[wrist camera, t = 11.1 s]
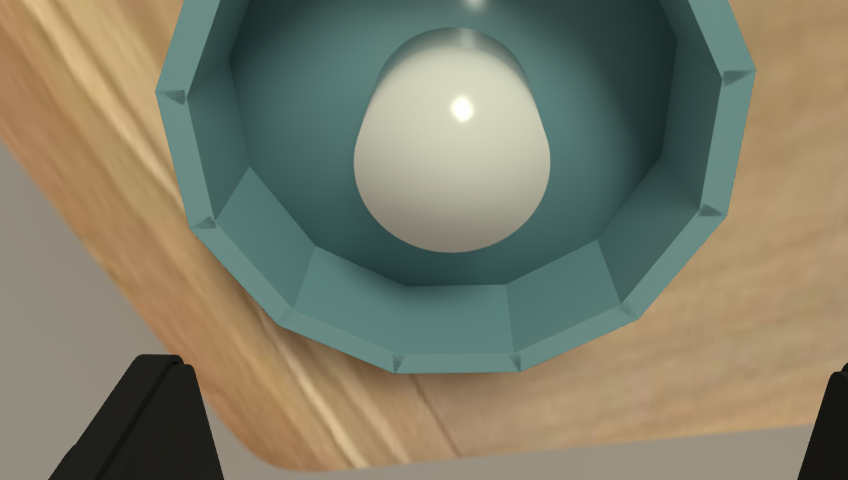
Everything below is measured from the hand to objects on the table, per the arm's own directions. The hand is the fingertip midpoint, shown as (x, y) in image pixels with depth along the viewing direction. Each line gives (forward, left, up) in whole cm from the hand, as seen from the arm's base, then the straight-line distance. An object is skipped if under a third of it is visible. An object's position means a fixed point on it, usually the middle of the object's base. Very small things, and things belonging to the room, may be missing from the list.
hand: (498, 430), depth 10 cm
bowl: (+1, 0, -15) cm, 15 cm away
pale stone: (+1, 0, -14) cm, 14 cm away
